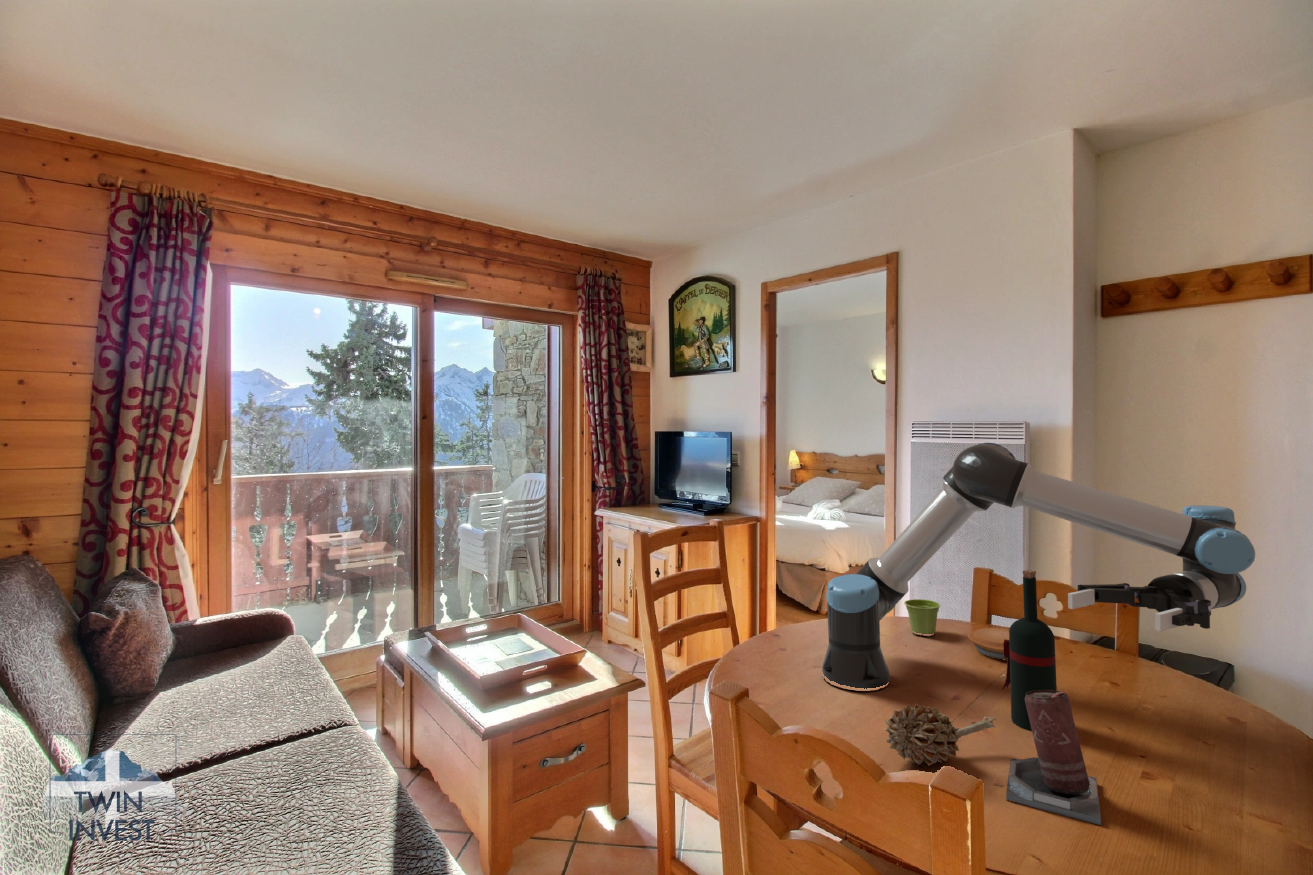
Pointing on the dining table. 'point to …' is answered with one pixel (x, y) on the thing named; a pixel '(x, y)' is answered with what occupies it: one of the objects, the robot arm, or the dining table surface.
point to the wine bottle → (1029, 655)
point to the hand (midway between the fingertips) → (1111, 611)
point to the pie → (990, 641)
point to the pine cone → (927, 734)
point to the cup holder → (1050, 793)
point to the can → (1057, 741)
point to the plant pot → (922, 615)
